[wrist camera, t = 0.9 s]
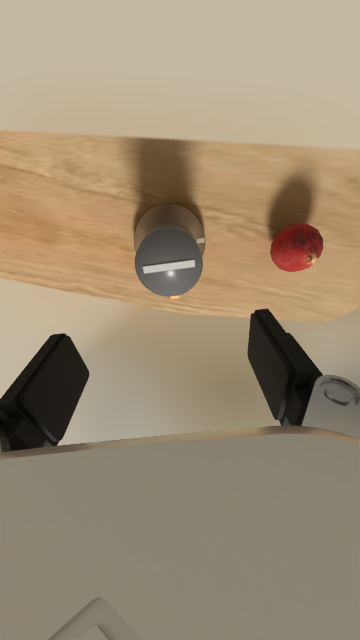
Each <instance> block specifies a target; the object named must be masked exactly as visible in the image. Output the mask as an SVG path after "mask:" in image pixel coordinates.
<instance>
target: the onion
mask: <svg viewBox="0 0 360 640" xmlns="http://www.w3.org/2000/svg"><path fill="white" fill-rule="evenodd" d="M322 250H323V238H322V236H321V235H320V233H319V231H318V230H317V229H316V228H314V227H312V226H310V225H308V224H291V225H289V226H287V227H285V228H283V229H282V230H281V231H280V232H279V233H278V234H277V235H276V236H275V238H274V240H273V242H272V244H271V251H270V254H271V258H272V261H273V262H274V263H275V264H276V266H277V267H278V268H279V269H281V270H285V271H288V272H295V271H301V270H304V269H306V268H309V267H310V266H311V265H312V264H314V263H315V262H316V261H317V259H318V258H319V257H320V255H321V252H322Z"/></svg>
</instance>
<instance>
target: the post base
mask: <svg viewBox="0 0 360 640" xmlns="http://www.w3.org/2000/svg"><path fill="white" fill-rule="evenodd" d="M167 221H170V222H177V223H179V224H182V225H183V226H185V227H186V228H188V229H189V230H190V232H191V233H192V234H193V236H194V238H195V240H196V242H197V245H198V247H199V250H200V252H201V255H202V256H203V253H204V249H205V235H204V231H203V228H202V225H201V224H200V222H199V220H198V219H197V217H196V216H195V215H194V214H193V213H192V212H191V211H190V210H188V209H187V208H185V207H184V206H181V205H178V204H174V203H164V204H160V205H157V206H155V207H153V208H151V209H150V210H149V211H147V212H146V213H145V214H144V216H143V217H142V218H141V219H140V221H139V223H138V225H137V227H136V230H135V235H134V246H135V251H136V253H137V250H138V248H139V246H140V244H141V242H142V240H143V238H144V236H145V234H146V233H147V232H148V230H149V229H150V228H152V227H153V226H154V225H156V224H158V223H161V222H167Z"/></svg>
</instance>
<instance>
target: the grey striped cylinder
mask: <svg viewBox="0 0 360 640" xmlns="http://www.w3.org/2000/svg"><path fill="white" fill-rule="evenodd" d="M202 267H203V261H202V255H201V252H200V250H199V247H198V245H197V242H196V240H195V238H194V236H193V234H192V233H191V232H190V230H189V229H188V228H186V227H185V226H183V225H182V224H179V223H177V222H170V221H167V222H161V223H158V224H156V225H154V226H153V227H152V228H150V229H149V230H148V232H147V233H146V234H145V236H144V238H143V240H142V242H141V244H140V246H139V248H138V250H137V253H136V256H135V269H136V273H137V275H138V278H139V279H140V281H141V282H142V284H143V285H144V286H145V287H146V288H147V289H149V290H150V291H152V292H153V293H155V294H158V295H161V296H170V297H171V299H175V298H179V295H181V294H183V293H185V292H187V291H189V290H190V289H191V288H192V287H193V286H194V285H195V284H196V283H197V281H198V280H199V278H200V276H201V272H202Z"/></svg>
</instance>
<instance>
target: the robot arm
mask: <svg viewBox="0 0 360 640" xmlns="http://www.w3.org/2000/svg"><path fill="white" fill-rule="evenodd" d="M248 359H249V361H250V364H251V366H252V368H253V370H254V373H255V375H256V377H257V380H258V382H259V384H260V387H261V389H262V391H263V393H264V396H265V398H266V400H267V403H268V405H269V407H270V410H271V412H272V414H273V417H274V418H275V419H276V420H279V421H280V423H281V426H267V427H255V428H254V427H253V428H240V429H228V430H216V431H205V432H195V433H184V434H173V435H162V436H153V437H141V438H131V439H121V440H112V441H111V440H110V441H101V442H90V443H81V444H71V445H61V446H57V444H58V442H59V441H60V440H61V439H62V438H63V436H64V434H65V432H66V429H67V427H68V425H69V422H70V420H71V418H72V415H73V413H74V411H75V408H76V406H77V404H78V401H79V398H80V396H81V394H82V392H83V390H84V387H85V385H86V383H87V380H88V378H89V371H88V369H87V367H86V365H85V363H84V362H83V360H82V358H81V356H80V354H79V352H78V351H77V349H76V347H75V345H74V344H73V342H72V340H71V338H70V337H69V336H67V335H66V334H54V335H51V336H50V337H49V339H48V340H47V341H46V342H45V343H44V345H43V346H42V347H41V348H40V350H39V351H38V352H37V354H36V355H35V356H34V357H33V359H32V360H31V361H30V362H29V364H28V365H27V366H26V367H25V369H24V370H23V371H22V372H21V374H20V375H19V376H18V378H17V379H16V380H15V381H14V382H13V384H12V385H11V386H10V388H9V389H8V390H7V391H6V393H5V394H4V395H3V396H2V398H1V399H0V640H360V388H359V387H358V386H357V385H356V384H354V383H353V382H351V381H349V380H347V379H345V378H343V377H339V376H335V375H324V376H323V375H322V373H321V372H320V371H319V369H318V368H317V367H316V366H315V364H314V363H313V362H312V360H311V359H310V358H309V357H308V355H307V354H306V353H305V351H304V350H303V349H302V348H301V346H300V345H299V344H298V343H297V341H296V340H295V339H294V338H293V336H292V335H291V334H290V333H286V332H285V331H284V329H283V328H282V327H281V325H280V324H279V323H278V321H277V320H276V319H275V317H274V316H273V315H272V313H271V312H270V311H269V310H268V309H260V310H255V312H254V313H252V314H251V319H250V331H249V343H248Z"/></svg>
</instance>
